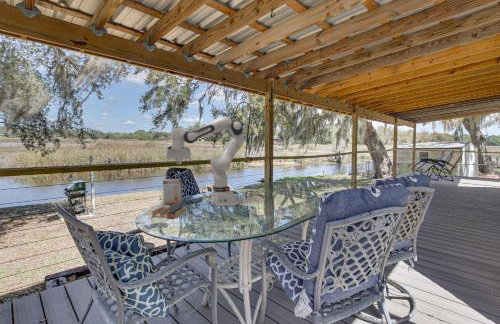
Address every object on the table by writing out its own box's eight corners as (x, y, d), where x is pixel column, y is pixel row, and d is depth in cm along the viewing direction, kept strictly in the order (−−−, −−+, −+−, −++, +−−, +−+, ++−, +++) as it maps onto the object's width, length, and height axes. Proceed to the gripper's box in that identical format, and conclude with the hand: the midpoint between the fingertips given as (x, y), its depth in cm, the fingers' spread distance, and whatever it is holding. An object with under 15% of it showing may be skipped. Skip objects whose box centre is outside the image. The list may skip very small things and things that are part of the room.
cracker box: (182, 202, 239) (181, 178, 237) (180, 204, 233) (178, 179, 231) (166, 202, 240) (165, 178, 238) (163, 204, 235) (162, 179, 232)
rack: (186, 212, 208) (186, 207, 208) (174, 219, 192) (174, 213, 192) (164, 210, 214) (164, 205, 214) (150, 217, 198) (150, 211, 197)
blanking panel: (183, 211, 207) (182, 202, 206) (174, 216, 196) (173, 206, 195) (179, 211, 208) (179, 202, 207) (170, 215, 196) (169, 206, 196)
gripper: (191, 146, 225) (192, 163, 227) (169, 147, 231) (170, 163, 233) (187, 147, 219) (188, 164, 221) (165, 147, 225) (166, 164, 227)
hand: (179, 164), depth 227 cm, fingers closed
